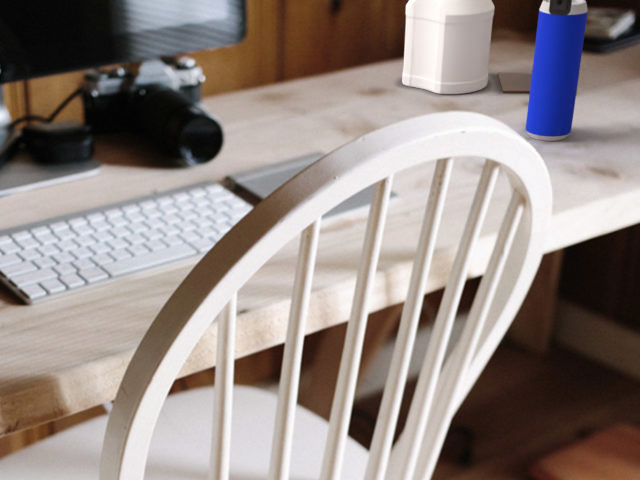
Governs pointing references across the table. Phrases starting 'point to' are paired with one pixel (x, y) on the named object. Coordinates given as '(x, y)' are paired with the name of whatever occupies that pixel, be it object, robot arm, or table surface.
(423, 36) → the jar
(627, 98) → the table surface
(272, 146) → the table surface
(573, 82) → the beverage can
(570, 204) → the table surface
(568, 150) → the table surface
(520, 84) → the coaster
